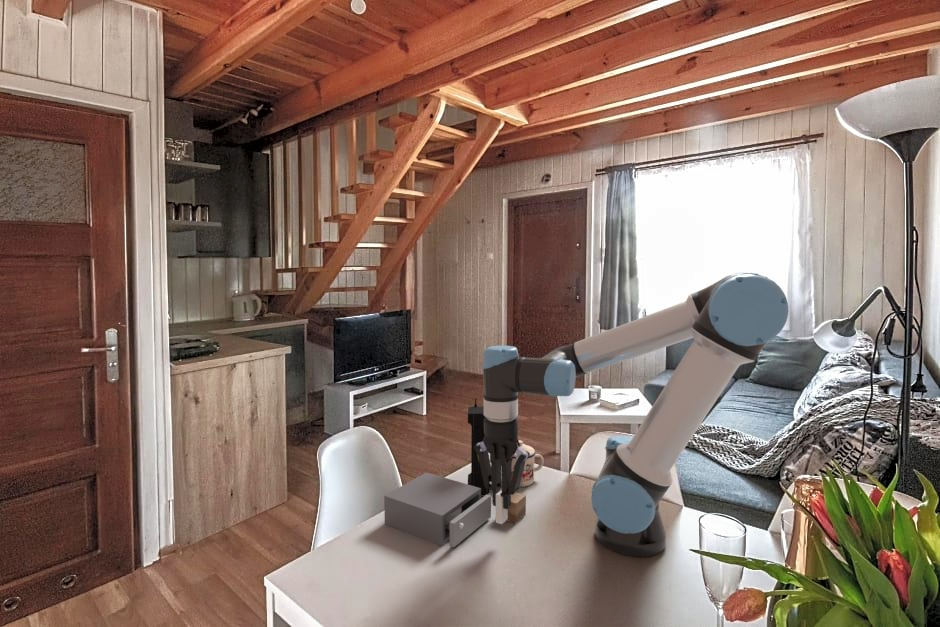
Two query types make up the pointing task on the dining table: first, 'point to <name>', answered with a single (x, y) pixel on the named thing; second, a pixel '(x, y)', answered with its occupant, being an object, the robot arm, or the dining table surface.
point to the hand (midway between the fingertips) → (501, 520)
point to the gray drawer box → (428, 506)
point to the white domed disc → (453, 515)
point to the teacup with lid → (528, 465)
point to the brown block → (517, 507)
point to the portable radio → (477, 436)
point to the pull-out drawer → (469, 520)
